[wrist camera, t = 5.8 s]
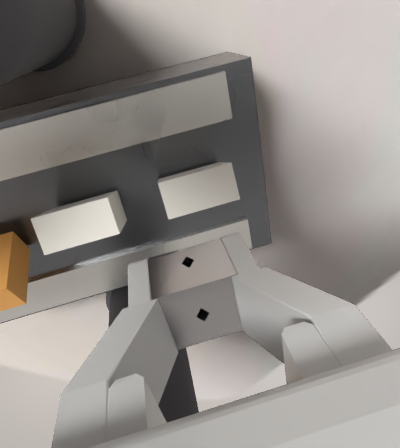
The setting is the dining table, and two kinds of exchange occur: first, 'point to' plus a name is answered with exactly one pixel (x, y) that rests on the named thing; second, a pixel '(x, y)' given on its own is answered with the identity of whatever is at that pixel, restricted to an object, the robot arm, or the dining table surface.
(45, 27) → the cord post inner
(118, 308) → the cord post outer
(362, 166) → the dining table surface
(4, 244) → the tripped paddle
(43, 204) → the breaker panel
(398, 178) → the dining table surface
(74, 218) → the white block
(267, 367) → the dining table surface
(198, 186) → the white block
